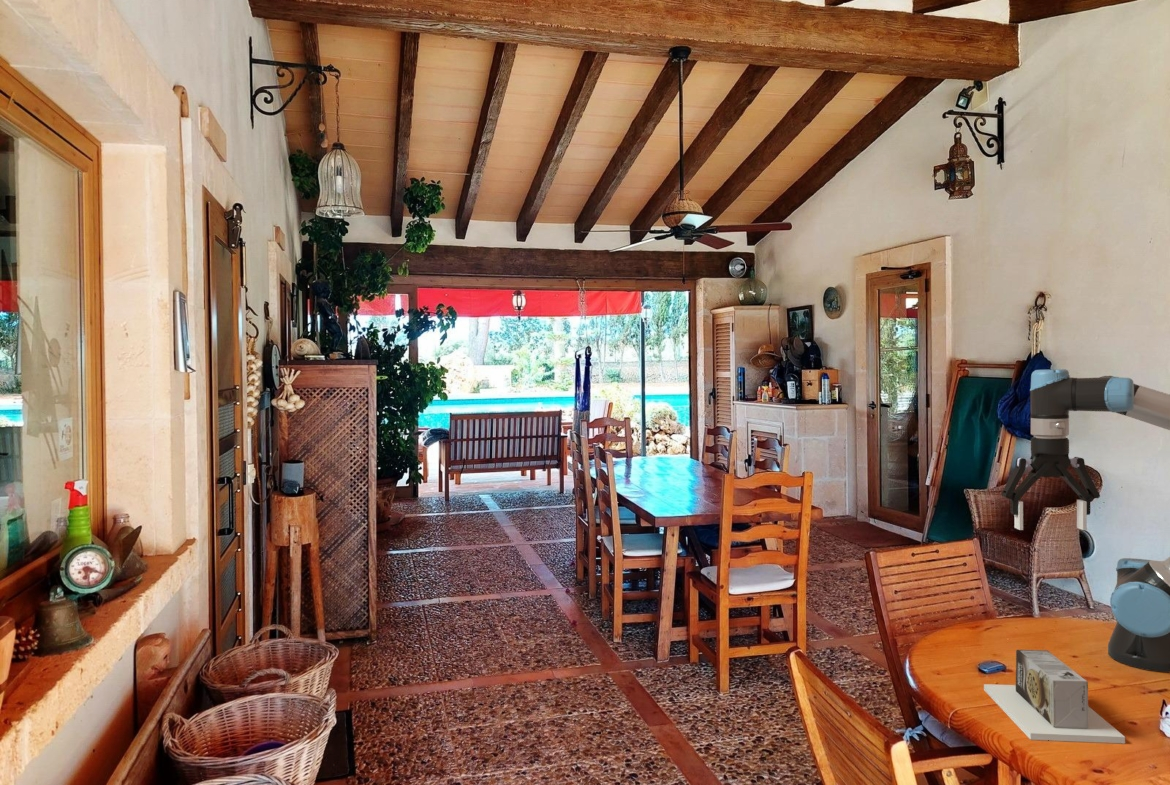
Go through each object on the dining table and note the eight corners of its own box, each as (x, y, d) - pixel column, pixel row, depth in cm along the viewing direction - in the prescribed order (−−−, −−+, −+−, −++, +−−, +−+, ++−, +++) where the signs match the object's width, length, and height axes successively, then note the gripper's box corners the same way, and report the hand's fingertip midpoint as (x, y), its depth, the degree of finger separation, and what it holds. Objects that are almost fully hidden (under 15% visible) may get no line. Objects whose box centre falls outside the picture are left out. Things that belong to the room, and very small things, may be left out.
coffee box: (1052, 728, 142) (1014, 692, 158) (1089, 729, 141) (1048, 693, 157) (1051, 679, 142) (1014, 648, 158) (1089, 680, 141) (1048, 649, 157)
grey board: (1064, 692, 160) (1064, 686, 160) (1125, 743, 138) (1125, 737, 138) (983, 689, 162) (983, 684, 162) (1030, 739, 141) (1030, 733, 140)
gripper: (999, 438, 173) (999, 532, 174) (1117, 437, 171) (1117, 532, 171) (985, 435, 181) (986, 525, 181) (1098, 434, 178) (1099, 525, 179)
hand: (1050, 529), depth 176 cm, fingers open, 13 cm apart
